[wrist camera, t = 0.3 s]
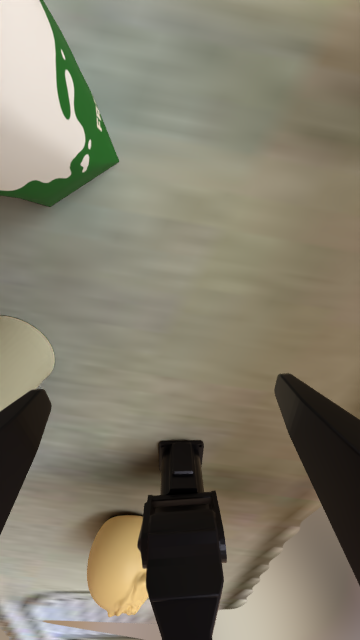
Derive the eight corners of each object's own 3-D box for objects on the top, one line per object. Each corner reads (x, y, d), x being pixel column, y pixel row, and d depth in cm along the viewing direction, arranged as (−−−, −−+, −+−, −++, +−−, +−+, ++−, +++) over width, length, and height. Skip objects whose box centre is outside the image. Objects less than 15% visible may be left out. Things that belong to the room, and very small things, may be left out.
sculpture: (145, 541, 45) (138, 631, 35) (89, 529, 42) (64, 623, 32) (172, 514, 41) (172, 607, 31) (111, 499, 38) (90, 597, 28)
